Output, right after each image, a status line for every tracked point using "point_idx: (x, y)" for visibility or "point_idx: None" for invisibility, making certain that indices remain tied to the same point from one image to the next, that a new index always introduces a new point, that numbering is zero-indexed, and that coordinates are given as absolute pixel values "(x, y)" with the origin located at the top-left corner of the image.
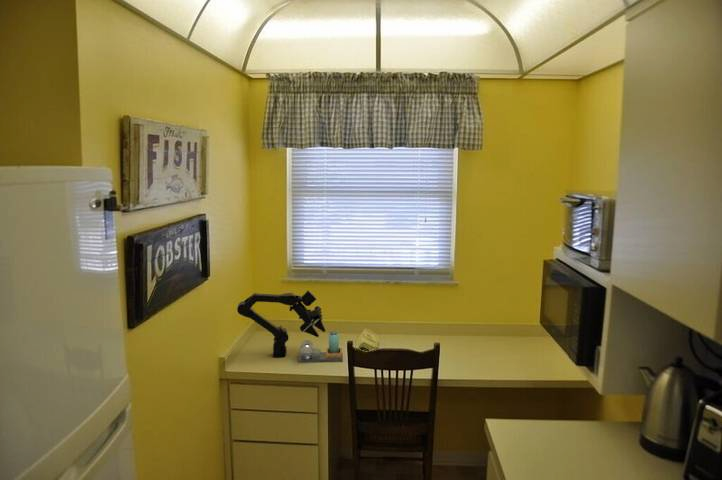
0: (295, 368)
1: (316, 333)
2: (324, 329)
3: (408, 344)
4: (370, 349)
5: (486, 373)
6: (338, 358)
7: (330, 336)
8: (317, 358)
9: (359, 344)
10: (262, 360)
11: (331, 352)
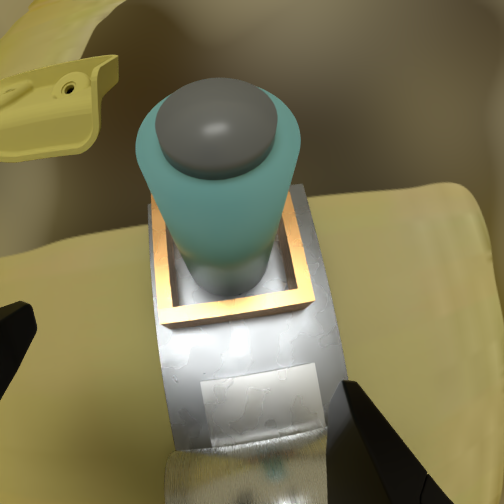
0: (450, 464)
1: (389, 431)
2: (10, 315)
3: (70, 23)
4: (116, 79)
5: None
6: (295, 211)
7: (287, 181)
8: (325, 376)
9: (49, 128)
10: None
11: (269, 257)
